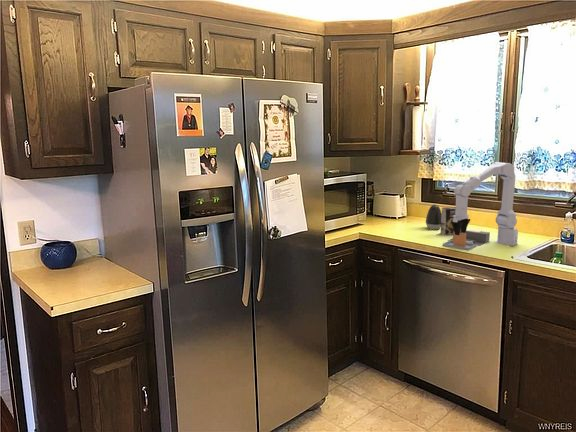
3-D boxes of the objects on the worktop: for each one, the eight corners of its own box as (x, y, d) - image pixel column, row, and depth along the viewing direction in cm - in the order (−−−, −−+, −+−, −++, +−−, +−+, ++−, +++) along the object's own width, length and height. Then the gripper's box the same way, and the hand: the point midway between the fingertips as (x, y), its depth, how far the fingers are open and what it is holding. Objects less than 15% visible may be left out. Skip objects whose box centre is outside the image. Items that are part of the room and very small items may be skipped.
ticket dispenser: (489, 242, 252) (489, 231, 251) (479, 247, 243) (480, 236, 242) (457, 237, 265) (457, 227, 263) (446, 241, 255) (447, 231, 254)
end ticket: (465, 246, 242) (466, 233, 241) (464, 247, 241) (465, 234, 240) (454, 244, 246) (455, 232, 245) (453, 245, 245) (453, 232, 244)
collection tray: (476, 247, 242) (476, 244, 242) (468, 251, 235) (468, 248, 235) (450, 243, 252) (450, 240, 252) (442, 247, 245) (442, 243, 244)
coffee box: (445, 236, 268) (446, 209, 265) (440, 234, 274) (441, 207, 271) (460, 235, 269) (461, 208, 266) (454, 233, 275) (455, 206, 272)
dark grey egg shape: (423, 229, 287) (424, 205, 284) (428, 226, 296) (429, 202, 293) (439, 231, 282) (440, 206, 279) (444, 227, 290) (445, 204, 287)
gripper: (459, 205, 248) (458, 230, 250) (447, 209, 237) (446, 235, 240) (472, 206, 243) (471, 231, 245) (461, 210, 232) (460, 236, 235)
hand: (460, 233), depth 242 cm, fingers open, 7 cm apart
